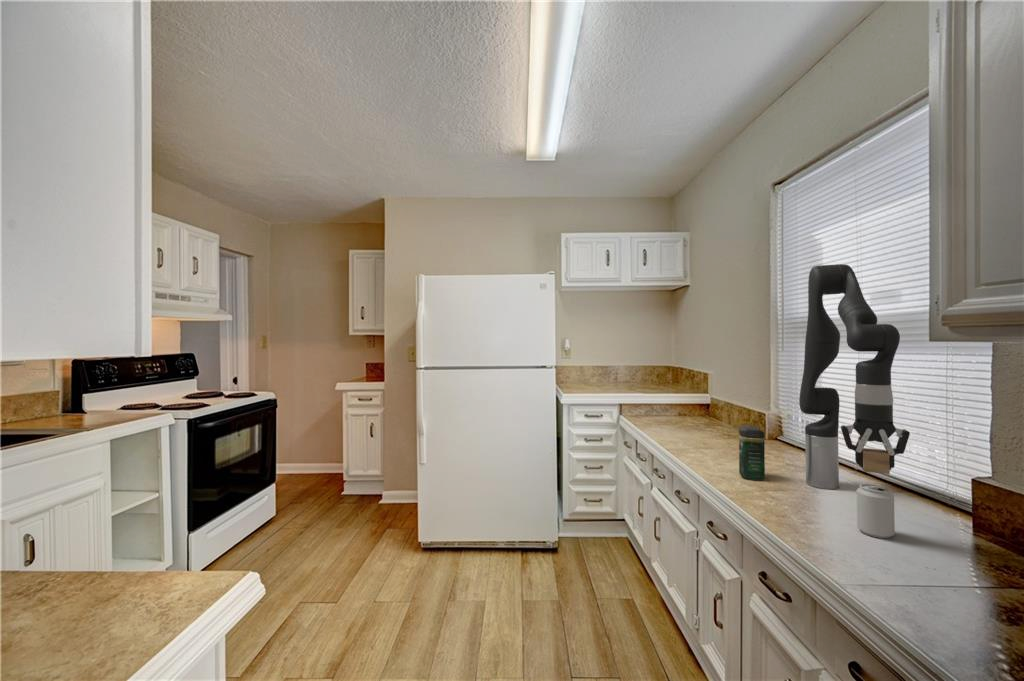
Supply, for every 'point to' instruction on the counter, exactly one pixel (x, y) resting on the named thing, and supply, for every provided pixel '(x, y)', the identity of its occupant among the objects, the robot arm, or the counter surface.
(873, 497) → the can
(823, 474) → the robot arm
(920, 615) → the counter surface
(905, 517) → the counter surface
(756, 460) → the coffee jar
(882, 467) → the block
